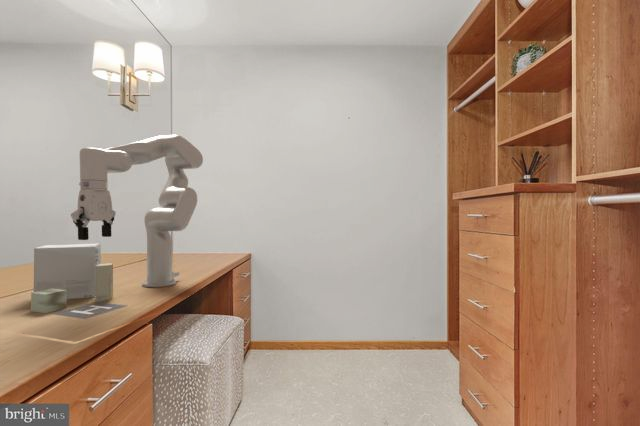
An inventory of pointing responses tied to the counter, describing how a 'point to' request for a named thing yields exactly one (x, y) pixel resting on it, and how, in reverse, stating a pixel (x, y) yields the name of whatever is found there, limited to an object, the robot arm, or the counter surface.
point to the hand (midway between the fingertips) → (95, 238)
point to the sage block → (48, 300)
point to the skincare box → (104, 282)
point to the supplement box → (67, 268)
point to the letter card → (90, 310)
